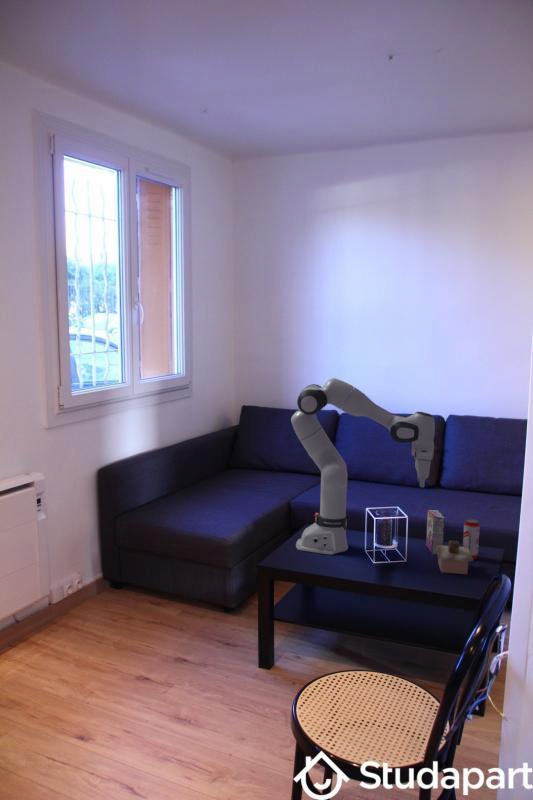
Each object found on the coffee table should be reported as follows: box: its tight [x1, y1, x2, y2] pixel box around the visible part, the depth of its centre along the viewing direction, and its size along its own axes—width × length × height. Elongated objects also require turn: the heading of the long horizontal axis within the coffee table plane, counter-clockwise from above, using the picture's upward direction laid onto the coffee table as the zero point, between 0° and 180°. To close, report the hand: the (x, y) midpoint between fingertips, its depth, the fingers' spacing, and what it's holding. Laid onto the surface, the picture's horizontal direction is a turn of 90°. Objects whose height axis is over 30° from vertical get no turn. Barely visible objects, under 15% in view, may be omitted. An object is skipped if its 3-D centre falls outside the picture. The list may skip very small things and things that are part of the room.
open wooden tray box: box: [437, 559, 469, 575], centre depth 252 cm, size 10×10×6 cm
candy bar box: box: [425, 509, 446, 556], centre depth 271 cm, size 11×5×16 cm, turn 179°
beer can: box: [462, 518, 481, 561], centre depth 263 cm, size 6×6×16 cm
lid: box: [435, 539, 474, 562], centre depth 251 cm, size 13×13×5 cm
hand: (420, 484), depth 261 cm, fingers open, 8 cm apart
